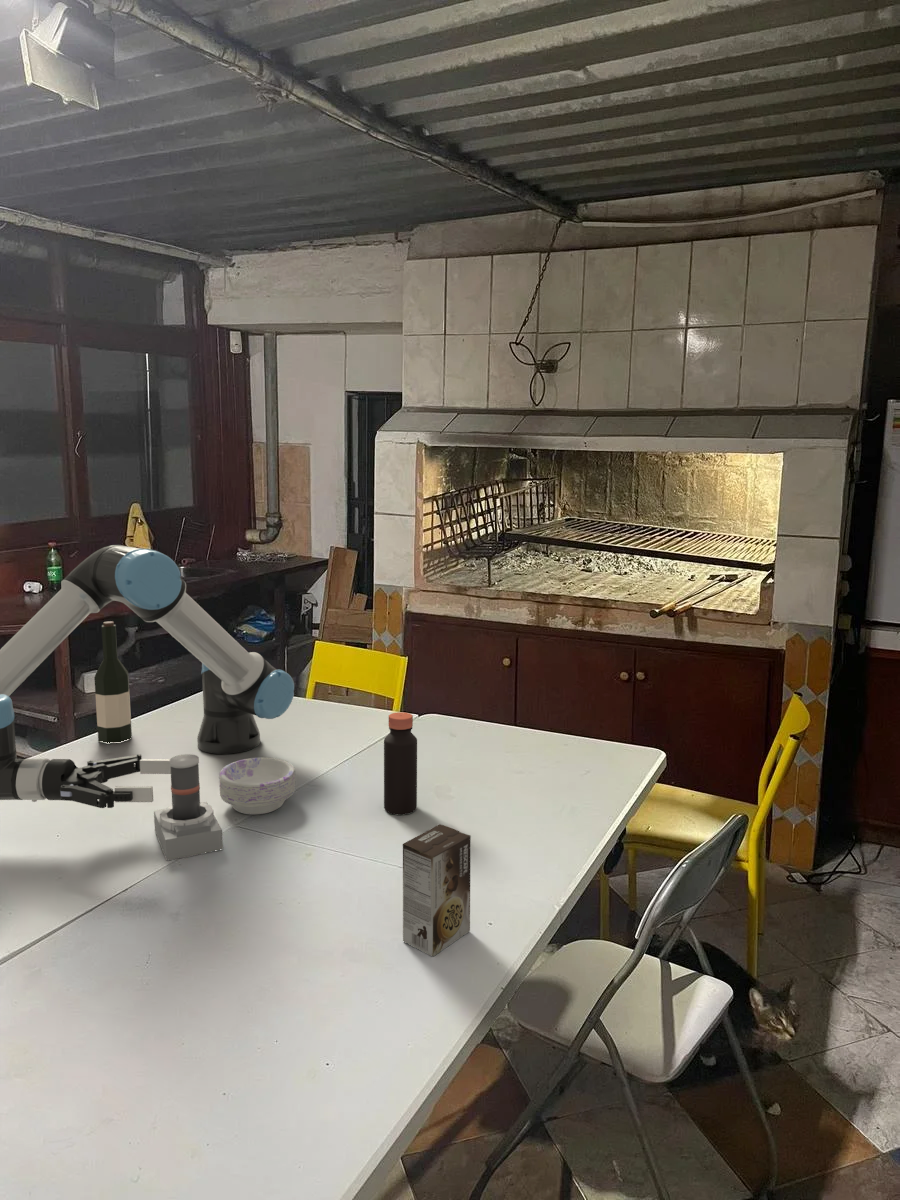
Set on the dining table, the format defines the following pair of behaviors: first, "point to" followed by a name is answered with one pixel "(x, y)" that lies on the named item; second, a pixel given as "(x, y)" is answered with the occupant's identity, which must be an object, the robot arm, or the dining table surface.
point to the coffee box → (436, 889)
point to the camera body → (188, 833)
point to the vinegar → (400, 765)
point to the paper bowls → (257, 784)
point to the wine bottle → (112, 691)
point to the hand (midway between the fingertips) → (164, 779)
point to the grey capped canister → (185, 787)
